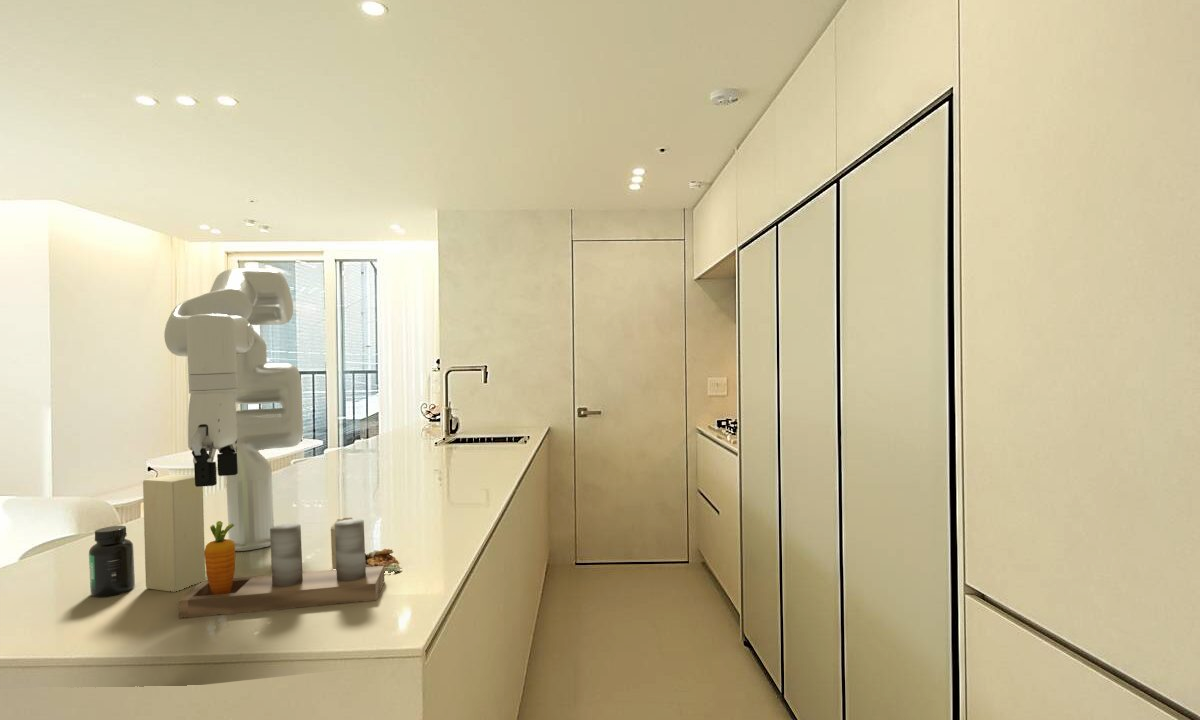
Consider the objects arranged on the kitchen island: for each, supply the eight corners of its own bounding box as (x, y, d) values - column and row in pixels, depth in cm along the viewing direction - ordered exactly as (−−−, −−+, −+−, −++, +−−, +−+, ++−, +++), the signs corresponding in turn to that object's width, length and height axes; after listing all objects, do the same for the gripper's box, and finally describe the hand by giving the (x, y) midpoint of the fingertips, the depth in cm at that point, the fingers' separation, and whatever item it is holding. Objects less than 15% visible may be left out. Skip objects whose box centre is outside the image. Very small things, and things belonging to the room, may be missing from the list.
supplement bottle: (86, 600, 122) (84, 535, 122) (94, 589, 128) (92, 527, 128) (131, 593, 125) (129, 530, 125) (137, 582, 131) (135, 522, 131)
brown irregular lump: (384, 579, 130) (383, 561, 130) (352, 568, 137) (351, 551, 137) (414, 569, 135) (414, 552, 135) (382, 559, 143) (381, 543, 142)
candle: (351, 572, 133) (349, 522, 133) (326, 571, 134) (324, 522, 134) (366, 563, 139) (364, 515, 138) (342, 562, 140) (340, 515, 140)
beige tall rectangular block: (210, 579, 131) (206, 474, 131) (175, 592, 124) (171, 481, 124) (180, 576, 134) (176, 472, 134) (145, 588, 127) (140, 480, 127)
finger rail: (203, 596, 122) (200, 526, 122) (384, 581, 127) (381, 513, 127) (178, 618, 112) (175, 542, 112) (375, 600, 117) (373, 527, 117)
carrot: (214, 599, 120) (211, 517, 120) (243, 598, 120) (239, 516, 120) (200, 610, 115) (196, 525, 115) (230, 608, 116) (226, 523, 115)
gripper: (210, 382, 125) (214, 472, 125) (167, 387, 108) (171, 492, 108) (253, 381, 126) (256, 470, 127) (216, 385, 109) (221, 489, 109)
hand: (217, 480), depth 117 cm, fingers open, 9 cm apart
